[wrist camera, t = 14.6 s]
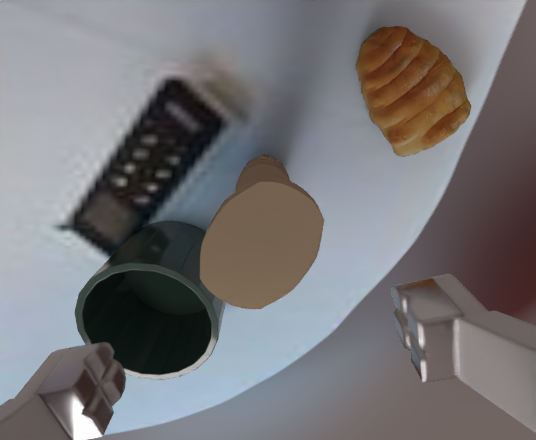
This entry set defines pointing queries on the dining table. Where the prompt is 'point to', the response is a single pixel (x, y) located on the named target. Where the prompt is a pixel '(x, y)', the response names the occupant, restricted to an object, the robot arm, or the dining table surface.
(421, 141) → the pastry
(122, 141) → the dining table surface
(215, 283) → the handle
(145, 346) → the crock
